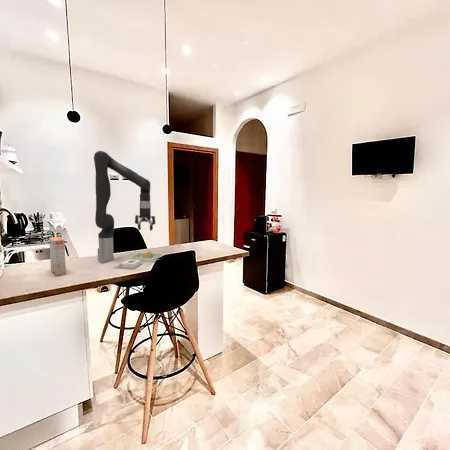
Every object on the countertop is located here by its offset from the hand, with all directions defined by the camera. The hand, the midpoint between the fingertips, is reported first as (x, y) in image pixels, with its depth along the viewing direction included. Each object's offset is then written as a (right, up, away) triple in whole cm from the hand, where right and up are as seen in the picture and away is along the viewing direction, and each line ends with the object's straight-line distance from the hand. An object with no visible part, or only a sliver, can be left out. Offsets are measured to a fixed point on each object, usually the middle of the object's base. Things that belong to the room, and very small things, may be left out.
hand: (145, 230), depth 188 cm
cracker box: (-43, -25, -30) cm, 58 cm away
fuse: (+1, -18, +8) cm, 20 cm away
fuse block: (-6, -24, -16) cm, 29 cm away
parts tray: (0, -22, +3) cm, 22 cm away
